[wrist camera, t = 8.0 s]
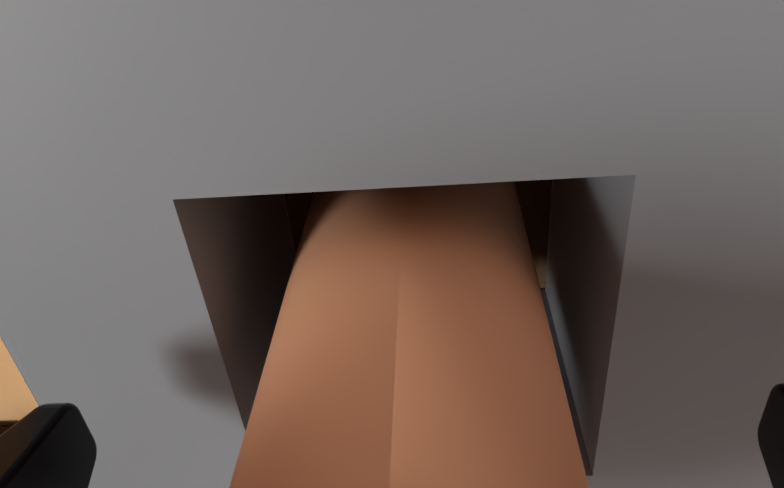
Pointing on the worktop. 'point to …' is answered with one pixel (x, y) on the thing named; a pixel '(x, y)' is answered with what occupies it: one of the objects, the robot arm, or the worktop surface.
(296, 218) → the worktop surface
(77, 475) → the robot arm
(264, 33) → the socket block
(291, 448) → the dowel
